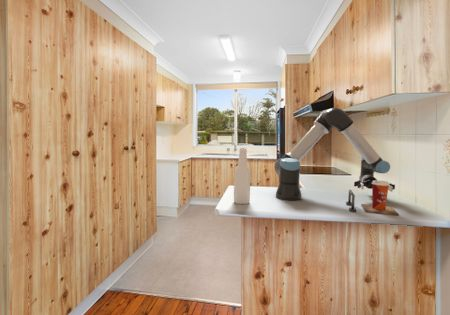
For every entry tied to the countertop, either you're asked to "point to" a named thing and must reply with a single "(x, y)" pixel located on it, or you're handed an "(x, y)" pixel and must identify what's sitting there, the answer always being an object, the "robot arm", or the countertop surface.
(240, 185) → the alcohol
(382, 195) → the paper cup
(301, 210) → the countertop surface
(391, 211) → the walnut board
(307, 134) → the robot arm
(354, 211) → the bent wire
